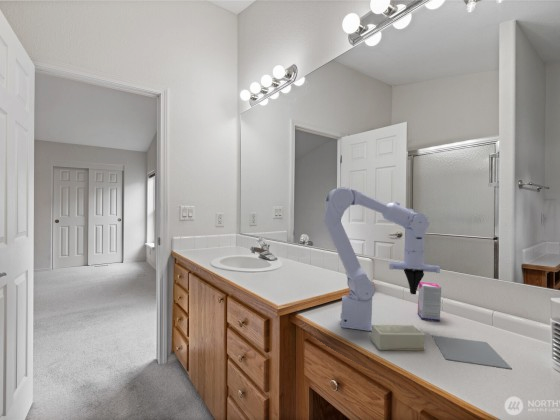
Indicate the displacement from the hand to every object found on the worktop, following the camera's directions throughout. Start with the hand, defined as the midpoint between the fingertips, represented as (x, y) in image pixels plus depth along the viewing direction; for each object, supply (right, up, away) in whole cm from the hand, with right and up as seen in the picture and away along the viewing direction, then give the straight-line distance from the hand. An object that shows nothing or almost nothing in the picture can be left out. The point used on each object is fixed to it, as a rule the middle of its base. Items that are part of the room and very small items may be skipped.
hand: (412, 293), depth 92 cm
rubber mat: (+7, -11, -15) cm, 20 cm away
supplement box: (+9, -11, +8) cm, 16 cm away
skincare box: (-4, -8, -13) cm, 16 cm away
